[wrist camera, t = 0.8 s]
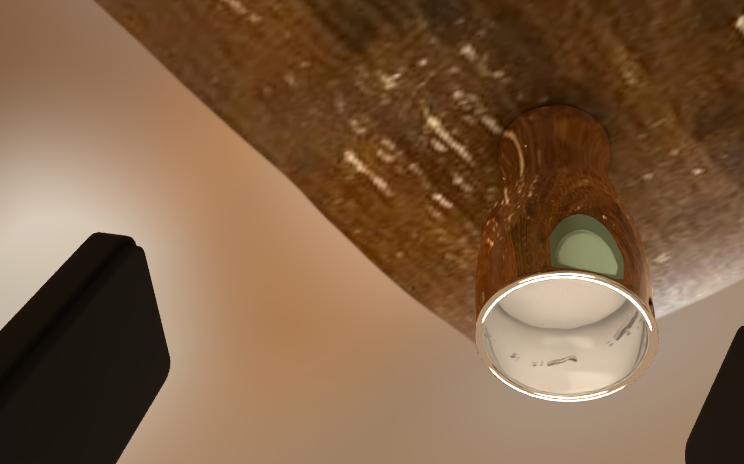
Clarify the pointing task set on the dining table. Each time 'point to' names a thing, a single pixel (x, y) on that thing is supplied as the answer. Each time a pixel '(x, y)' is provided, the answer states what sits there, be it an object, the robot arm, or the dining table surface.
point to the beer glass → (562, 266)
